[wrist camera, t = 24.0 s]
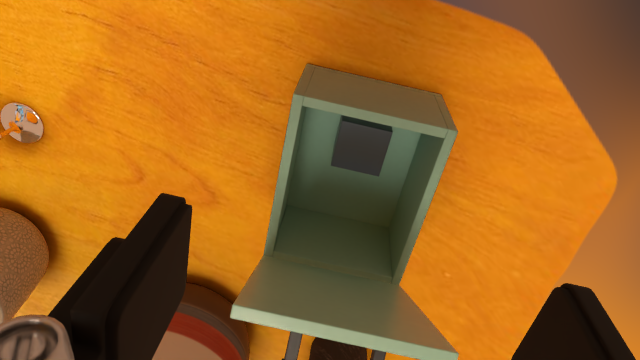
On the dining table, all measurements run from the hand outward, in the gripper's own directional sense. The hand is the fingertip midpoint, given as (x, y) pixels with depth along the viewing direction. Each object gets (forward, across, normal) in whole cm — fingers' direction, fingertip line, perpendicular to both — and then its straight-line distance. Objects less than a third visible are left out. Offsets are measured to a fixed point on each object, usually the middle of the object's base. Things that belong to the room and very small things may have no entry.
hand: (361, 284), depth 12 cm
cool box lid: (+16, -2, +15) cm, 22 cm away
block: (+32, -2, +8) cm, 33 cm away
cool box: (+32, -2, +12) cm, 34 cm away
